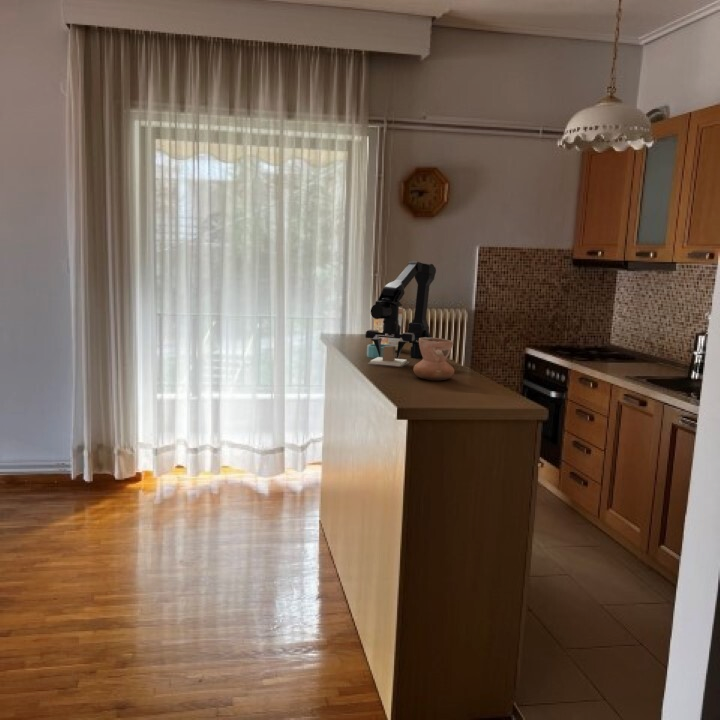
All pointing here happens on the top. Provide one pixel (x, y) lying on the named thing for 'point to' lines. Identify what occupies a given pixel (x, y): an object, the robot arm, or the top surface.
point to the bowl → (374, 350)
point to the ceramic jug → (434, 359)
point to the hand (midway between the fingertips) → (388, 357)
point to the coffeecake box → (389, 341)
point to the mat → (390, 365)
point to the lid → (388, 357)
